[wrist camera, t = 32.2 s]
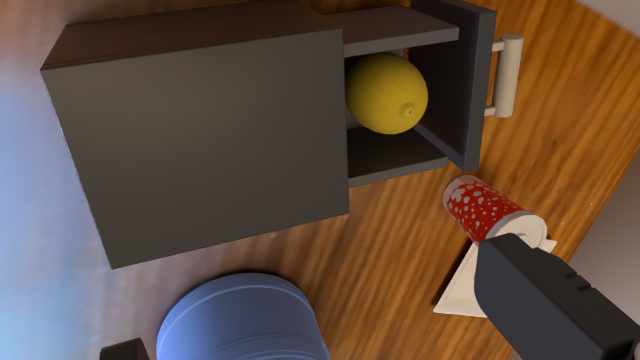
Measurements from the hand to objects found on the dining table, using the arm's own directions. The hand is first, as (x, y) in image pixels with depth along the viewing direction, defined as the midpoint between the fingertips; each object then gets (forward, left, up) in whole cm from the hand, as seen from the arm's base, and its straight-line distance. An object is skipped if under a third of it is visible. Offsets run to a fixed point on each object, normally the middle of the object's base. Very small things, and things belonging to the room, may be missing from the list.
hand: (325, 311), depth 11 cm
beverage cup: (+20, +23, -29) cm, 42 cm away
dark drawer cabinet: (+5, -1, -29) cm, 29 cm away
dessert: (+32, +28, -29) cm, 51 cm away
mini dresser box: (+5, +13, -28) cm, 31 cm away
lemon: (+5, +12, -27) cm, 30 cm away
